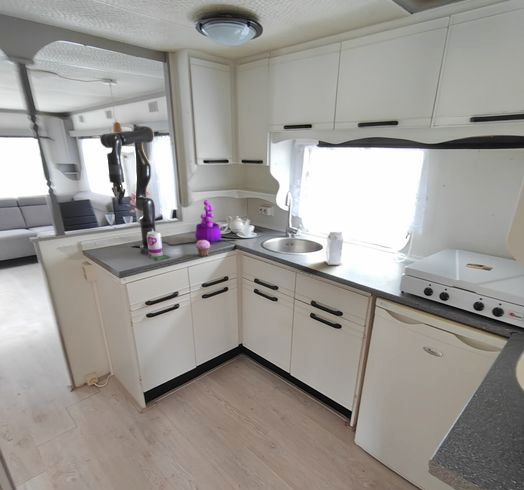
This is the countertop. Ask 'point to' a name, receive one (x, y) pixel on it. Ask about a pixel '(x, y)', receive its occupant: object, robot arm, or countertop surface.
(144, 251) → the saucepan
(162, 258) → the green rectangular block
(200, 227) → the decorative plant
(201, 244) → the cupcake
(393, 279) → the countertop surface
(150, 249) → the supplement can
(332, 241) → the milk carton
